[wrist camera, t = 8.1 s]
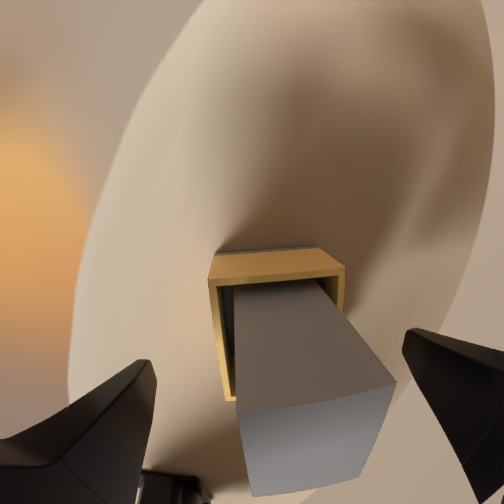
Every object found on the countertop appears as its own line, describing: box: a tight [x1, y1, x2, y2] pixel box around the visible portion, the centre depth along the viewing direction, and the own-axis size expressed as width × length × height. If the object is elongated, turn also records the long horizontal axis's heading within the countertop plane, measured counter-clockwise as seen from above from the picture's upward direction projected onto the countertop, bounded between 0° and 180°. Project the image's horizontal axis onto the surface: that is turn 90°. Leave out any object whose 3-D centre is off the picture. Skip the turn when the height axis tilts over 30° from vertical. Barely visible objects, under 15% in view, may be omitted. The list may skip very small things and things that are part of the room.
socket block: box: [208, 246, 346, 401], centre depth 11 cm, size 5×5×4 cm
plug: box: [234, 278, 397, 497], centre depth 8 cm, size 4×3×8 cm
